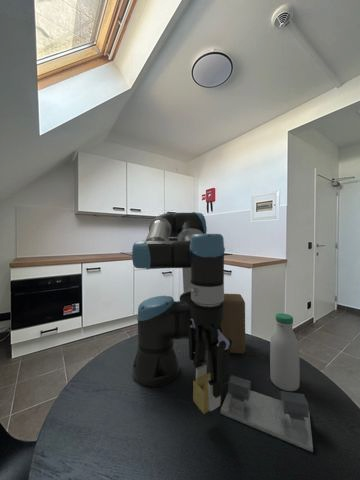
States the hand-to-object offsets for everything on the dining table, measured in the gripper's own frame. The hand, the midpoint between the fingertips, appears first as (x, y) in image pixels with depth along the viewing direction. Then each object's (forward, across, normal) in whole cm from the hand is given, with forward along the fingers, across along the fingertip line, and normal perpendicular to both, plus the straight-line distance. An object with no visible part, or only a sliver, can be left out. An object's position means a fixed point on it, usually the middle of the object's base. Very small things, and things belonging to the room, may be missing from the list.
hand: (207, 399), depth 47 cm
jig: (+6, +6, +13) cm, 15 cm away
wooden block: (+7, -21, +28) cm, 36 cm away
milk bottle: (+6, +2, +28) cm, 28 cm away
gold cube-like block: (+1, 0, 0) cm, 1 cm away
